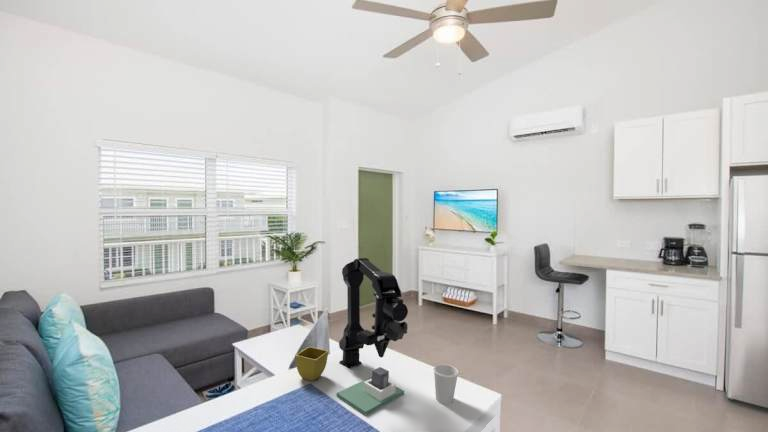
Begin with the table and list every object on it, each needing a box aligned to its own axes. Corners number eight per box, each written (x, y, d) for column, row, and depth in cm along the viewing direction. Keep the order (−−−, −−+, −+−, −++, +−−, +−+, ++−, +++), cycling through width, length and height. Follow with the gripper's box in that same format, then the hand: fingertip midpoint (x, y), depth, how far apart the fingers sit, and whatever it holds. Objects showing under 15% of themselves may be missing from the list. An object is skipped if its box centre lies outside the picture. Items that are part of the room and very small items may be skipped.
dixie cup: (429, 402, 113) (430, 372, 113) (435, 390, 121) (436, 362, 121) (454, 409, 110) (456, 378, 110) (458, 396, 118) (460, 367, 117)
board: (336, 396, 114) (336, 383, 114) (375, 378, 127) (375, 367, 127) (365, 415, 104) (366, 402, 104) (403, 394, 117) (404, 382, 117)
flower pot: (293, 379, 123) (294, 354, 123) (307, 369, 131) (309, 346, 131) (314, 385, 120) (315, 360, 120) (327, 374, 128) (329, 350, 128)
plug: (370, 391, 115) (372, 370, 115) (379, 387, 118) (380, 366, 118) (380, 396, 112) (381, 375, 112) (388, 392, 115) (389, 371, 115)
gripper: (381, 324, 104) (378, 375, 105) (419, 312, 118) (416, 357, 118) (356, 314, 112) (354, 361, 113) (395, 304, 126) (393, 346, 126)
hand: (381, 357), depth 117 cm, fingers closed
